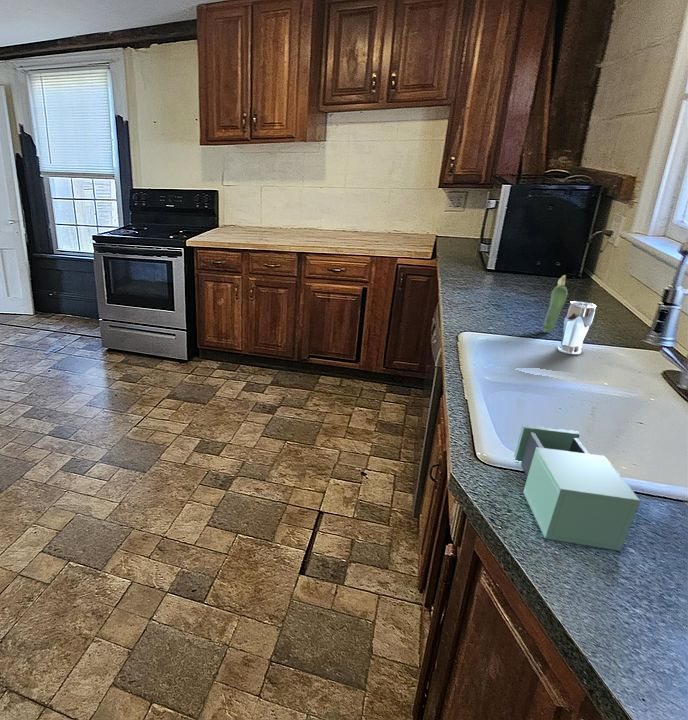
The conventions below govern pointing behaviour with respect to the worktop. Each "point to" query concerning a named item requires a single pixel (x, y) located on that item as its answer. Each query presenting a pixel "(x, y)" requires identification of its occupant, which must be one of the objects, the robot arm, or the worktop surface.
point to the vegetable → (555, 304)
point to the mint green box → (580, 498)
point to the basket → (545, 443)
